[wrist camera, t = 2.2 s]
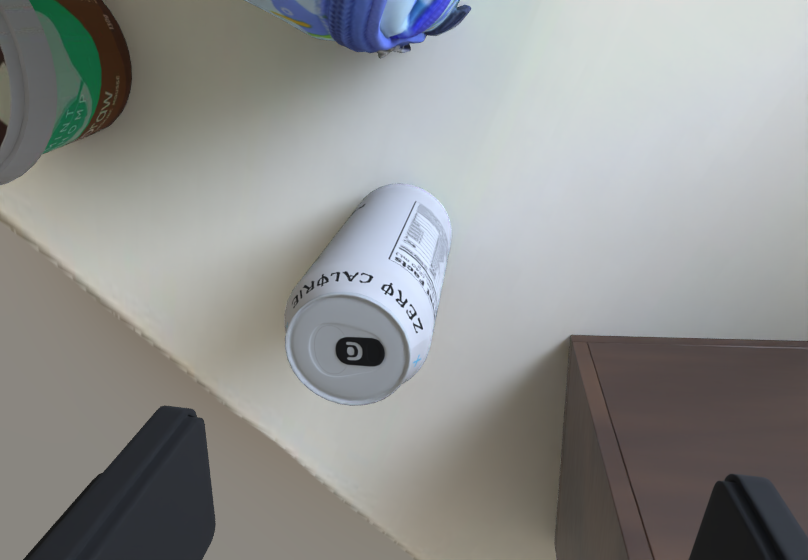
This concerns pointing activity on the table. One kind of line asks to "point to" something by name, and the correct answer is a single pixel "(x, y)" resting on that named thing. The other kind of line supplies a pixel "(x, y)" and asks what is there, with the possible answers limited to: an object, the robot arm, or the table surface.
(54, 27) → the food container
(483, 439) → the table surface
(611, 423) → the chest
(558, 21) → the table surface
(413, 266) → the energy drink can
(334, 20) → the lunch box
